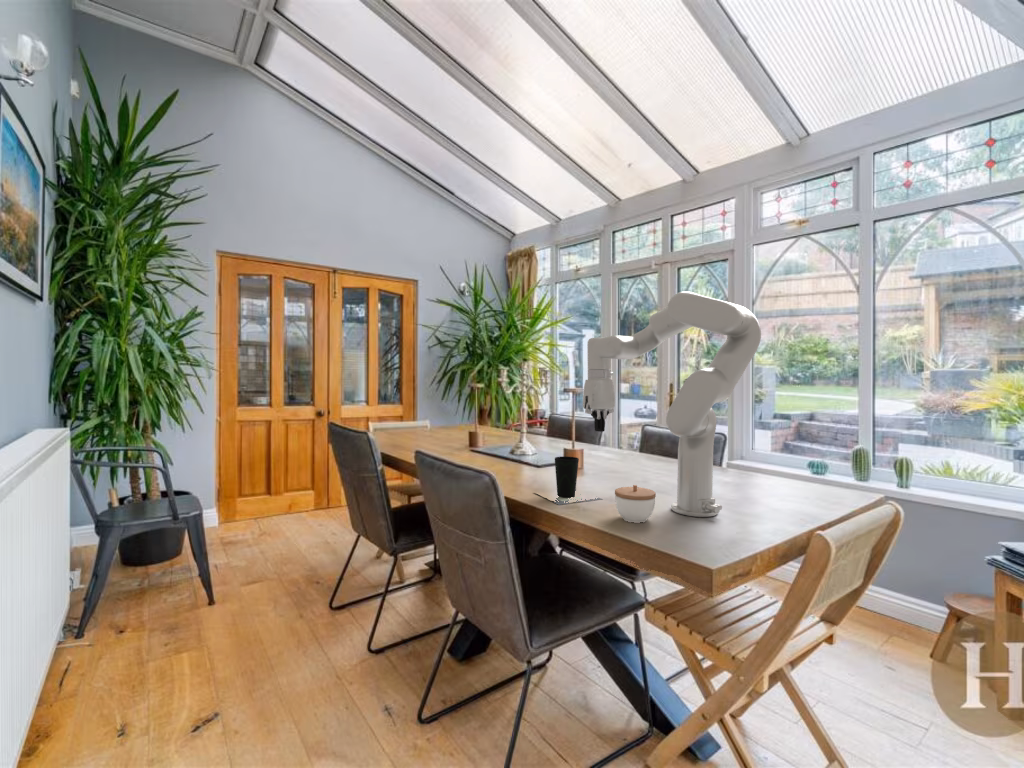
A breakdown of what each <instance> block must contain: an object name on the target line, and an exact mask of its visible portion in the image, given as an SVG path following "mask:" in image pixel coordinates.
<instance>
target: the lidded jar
mask: <svg viewBox="0 0 1024 768" xmlns="http://www.w3.org/2000/svg"><path fill="white" fill-rule="evenodd" d="M614 495H615V497H614V498H615V500H614V502H615V508H616V510H617V513H618V514H619V515H620V516H621V517H622V519H624V520H623V521H624V522H627V521H628V523H631V522H634V523H633V524H641V523H640V522H643V523H646V522H647V520H648V519H649V518H650V517H651V516H652V515H653V513H654V510H655V505H656V497H657V495H656V492H655V491H654V490H652V489H650V488H645V487H638V485H637V484H633V485H632V486H623V487H618V488H616V489H614ZM645 521H646V522H645Z"/></svg>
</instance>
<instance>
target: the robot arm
mask: <svg viewBox="0 0 1024 768" xmlns="http://www.w3.org/2000/svg"><path fill="white" fill-rule="evenodd" d="M648 322H649V323H648V325H647V326H645V328H643V329H641V330H639V331H638V332H636V333H634V334H632V335H619V334H618V335H617V334H614V335H609V336H608V335H607V336H605V337H604V336H603V337H602V336H601V337H600V336H599V337H597V336H596V337H591V338H589V339H588V340H587V379H585V381H584V386H583V392H582V393H583V395H582V408H583V409H584V413H585V414H588V415H591V417H592V419H593V420H594V431H595V432H599V433H600V432H601V433H603V432H605V429H606V425H605V424H606V419H607V417H608V415H609V414H612V413H614V408H615V403H616V401H615V400H616V399H615V398H616V397H615V388H614V382H613V379H612V376H614V372H613V371H612V370H611V369H612V363H611V361H612V360H633V359H636V358H638V357H640V356H643V355H644V354H647V353H649V352H651V351H653V350H654V349H657V347H659V346H660V345H661V344H663V342H664V341H666V340H669V339H670V338H672V337H674V336H676V335H678V334H680V333H682V332H684V331H687V330H689V329H691V328H692V327H693V328H697V329H700V330H702V331H703V330H704V331H706V332H711V333H713V334H717V335H723V336H726V340H725V342H724V343H723V344H722V346H721V347H720V348H719V349H718V351H716V353H715V356H714V358H713V359H712V361H711V363H710V364H709V366H707V368H701V369H697V370H695V371H694V372H692V373H691V374H689V376H688V377H687V378H686V379H685V381H684V383H683V384H682V386H681V388H680V390H679V391H678V392H677V395H676V396H675V398H674V400H673V401H672V402H671V405H670V406H669V408H668V411H667V413H666V417H665V422H666V423H665V424H666V426H667V429H668V430H669V432H670V433H672V434H673V435H674V436H676V437H679V440H678V445H677V479H676V480H677V488H676V489H677V490H676V494H677V495H676V502H673V503H672V504H671V507H670V509H671V510H672V511H673V512H674V513H677V514H680V515H682V516H688V517H696V518H698V517H699V518H706V517H708V518H709V517H713V516H716V515H718V514H719V513H720V511H722V509H723V506H722V505H721V504H718V503H716V498H715V497H713V486H714V485H713V484H714V483H713V481H714V480H713V478H714V476H713V475H714V446H715V445H714V443H715V435H716V430H717V428H716V427H717V415H716V413H715V411H714V408H713V406H714V405H715V404H717V403H721V402H724V401H725V400H727V399H728V398H729V397H730V395H731V394H732V392H733V391H734V389H735V388H736V386H737V384H738V383H739V381H740V379H741V377H742V376H743V375H744V373H745V371H746V369H747V367H748V366H749V364H750V362H751V361H752V359H753V358H754V356H755V354H756V352H757V351H758V349H759V346H760V344H761V338H762V329H761V326H760V325H761V324H760V323H759V321H758V318H757V317H756V315H755V314H754V313H753V312H752V311H750V310H749V309H748V308H746V307H745V306H742V305H740V304H735V303H733V302H730V301H729V302H728V301H725V300H721V299H717V298H713V297H710V296H705V295H701V294H699V293H695V292H693V291H687V290H686V291H685V290H684V291H680V292H676V293H675V294H674V295H673V296H672V297H671V298H670V299H669V301H668V303H667V306H666V307H665V308H663V309H661V310H659V311H657V312H655V313H653V314H651V316H649V319H648Z"/></svg>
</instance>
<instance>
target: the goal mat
mask: <svg viewBox="0 0 1024 768" xmlns="http://www.w3.org/2000/svg"><path fill="white" fill-rule="evenodd" d="M580 495H581V494H580ZM573 498H574V497H573ZM576 498H577V499H578V498H579V499H580V497H576ZM576 498H575V500H576ZM556 499H557V500H558V501H559V502H558V501H557V500H555V501H556V502H554V503H553V504H555V503H556V504H555V505H557V504H558V506H562V504H564V505H570V504H569V502H568V501H569V499H570V498H569V499H568V498H564V497H558V498H556ZM599 499H601V500H602V498H601V497H598V498H597V499H596V498H595V500H594V501H599ZM570 500H572V499H570ZM573 500H574V499H573ZM581 500H582V497H581ZM585 500H586V499H585ZM592 500H593V499H592ZM592 500H591V499H590V500H588V501H587V500H586V502H591V501H592ZM564 501H565V503H564ZM577 501H578V500H577ZM577 501H576V503H575V504H578V503H577ZM566 502H568V503H566ZM578 502H579V501H578ZM592 502H593V501H592ZM579 503H583V502H582V501H580V502H579Z"/></svg>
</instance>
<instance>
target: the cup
mask: <svg viewBox="0 0 1024 768" xmlns="http://www.w3.org/2000/svg"><path fill="white" fill-rule="evenodd" d="M579 461H580V460H579V457H576V456H556V457H554V468H555V469H554V470H555V482H556V490H557V495H558V496H559V497H564V498H571V497H575V491H576V489H577V481H578V471H579V469H578V468H579Z"/></svg>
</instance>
